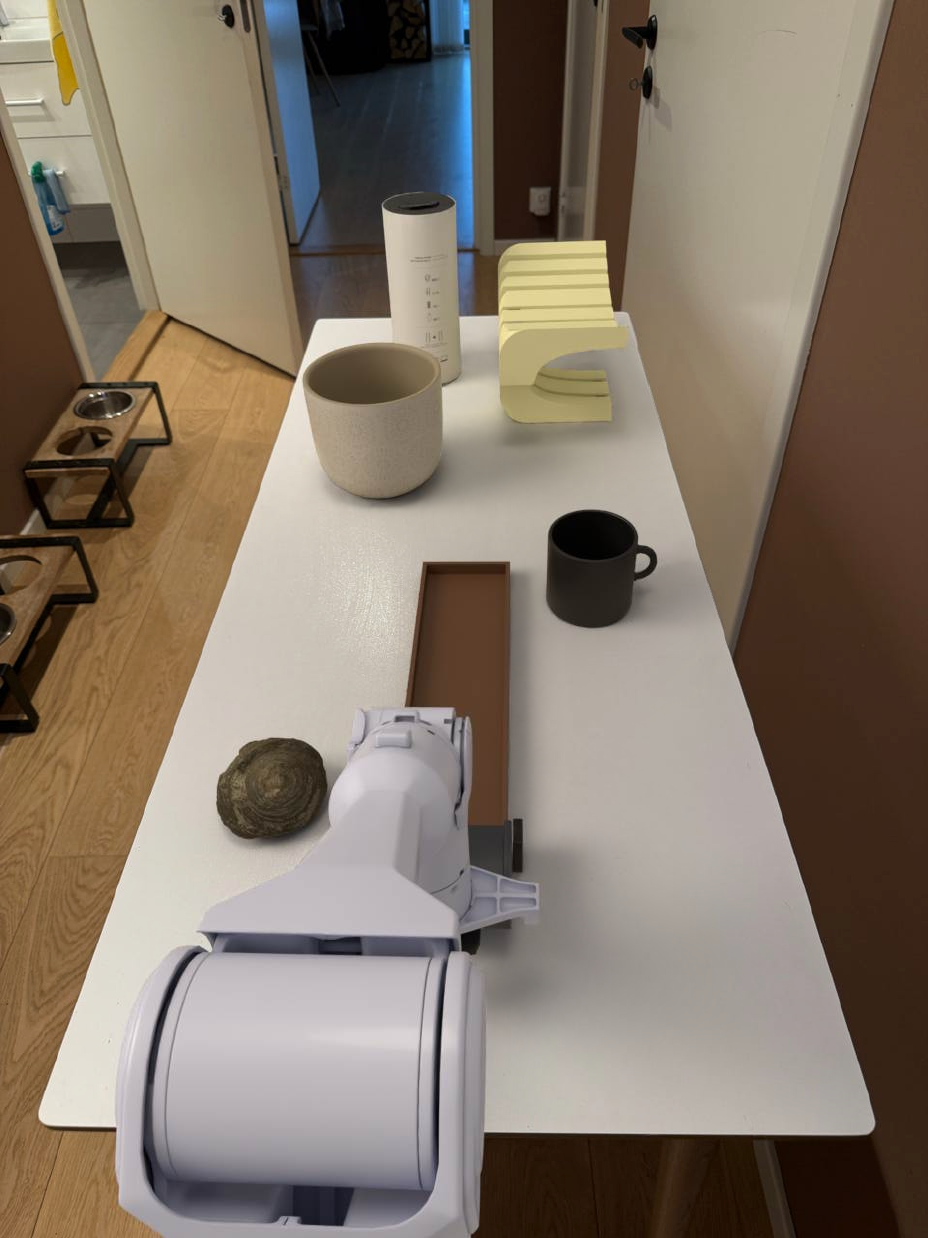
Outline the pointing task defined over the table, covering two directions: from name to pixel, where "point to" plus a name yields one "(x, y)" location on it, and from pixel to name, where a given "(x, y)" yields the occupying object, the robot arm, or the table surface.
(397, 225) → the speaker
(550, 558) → the mug
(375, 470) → the planter
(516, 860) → the bracket
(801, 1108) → the table surface
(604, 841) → the table surface
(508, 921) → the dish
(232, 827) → the seashell
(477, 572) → the tray
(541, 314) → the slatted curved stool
